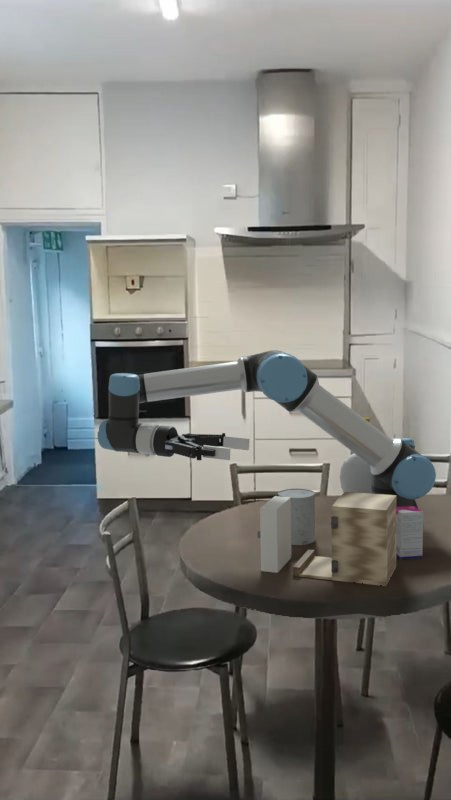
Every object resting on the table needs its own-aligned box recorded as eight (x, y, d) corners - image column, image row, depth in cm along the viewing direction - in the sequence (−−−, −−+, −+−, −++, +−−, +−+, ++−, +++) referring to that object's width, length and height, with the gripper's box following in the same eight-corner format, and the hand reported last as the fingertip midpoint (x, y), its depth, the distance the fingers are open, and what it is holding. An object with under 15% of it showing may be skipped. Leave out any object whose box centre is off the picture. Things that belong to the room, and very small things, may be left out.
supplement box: (423, 557, 193) (423, 511, 191) (400, 559, 192) (400, 513, 191) (414, 550, 199) (414, 505, 197) (391, 552, 198) (391, 506, 196)
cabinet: (396, 566, 187) (396, 495, 185) (384, 588, 174) (385, 511, 172) (308, 557, 195) (307, 489, 193) (291, 577, 182) (290, 504, 179)
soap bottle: (390, 500, 245) (390, 415, 241) (385, 508, 237) (385, 420, 233) (343, 497, 250) (343, 414, 246) (337, 505, 241) (336, 419, 238)
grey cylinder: (313, 545, 204) (313, 498, 202) (276, 544, 206) (275, 497, 204) (316, 534, 213) (316, 489, 212) (281, 533, 215) (280, 488, 214)
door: (291, 557, 196) (290, 497, 193) (277, 572, 185) (276, 509, 183) (270, 555, 197) (270, 495, 195) (256, 570, 187) (255, 507, 185)
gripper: (178, 447, 211) (255, 455, 203) (134, 464, 187) (220, 475, 180) (179, 418, 210) (256, 426, 202) (135, 432, 186) (221, 441, 179)
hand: (239, 449), depth 191 cm, fingers open, 13 cm apart
